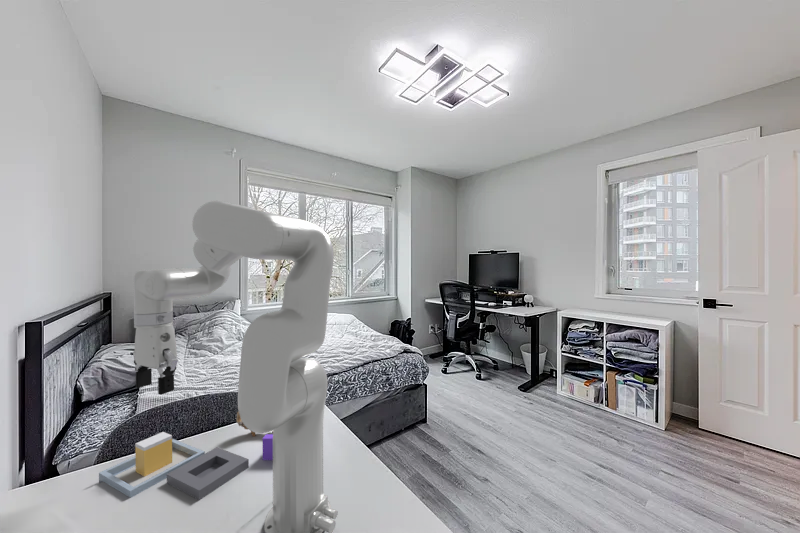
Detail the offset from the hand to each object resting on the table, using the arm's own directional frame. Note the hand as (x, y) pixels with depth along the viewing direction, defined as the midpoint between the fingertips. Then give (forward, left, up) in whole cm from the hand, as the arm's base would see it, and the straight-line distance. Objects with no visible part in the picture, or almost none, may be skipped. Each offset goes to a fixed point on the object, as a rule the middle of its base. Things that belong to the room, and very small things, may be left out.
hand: (154, 389), depth 78 cm
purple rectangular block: (-22, -20, -21) cm, 37 cm away
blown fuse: (0, 0, -19) cm, 19 cm away
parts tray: (0, 0, -20) cm, 20 cm away
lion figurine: (-11, -22, -21) cm, 32 cm away
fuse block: (-15, -4, -20) cm, 25 cm away
